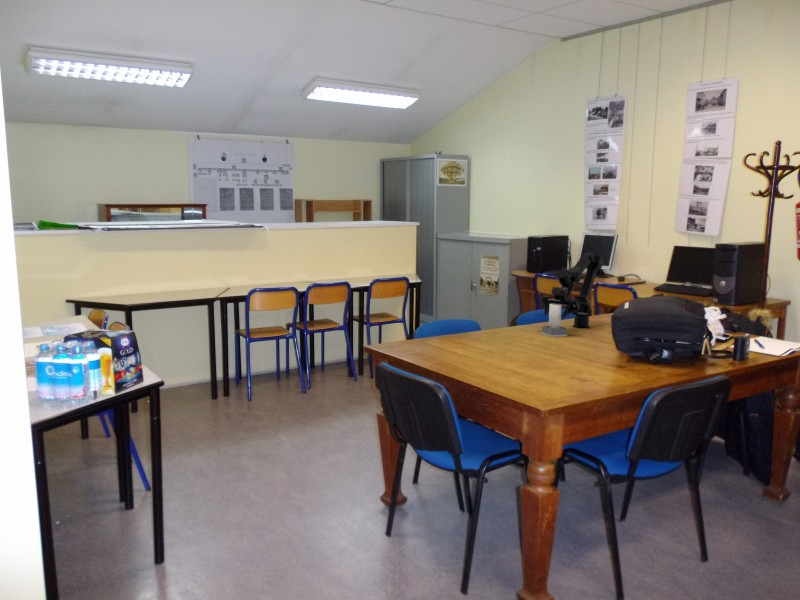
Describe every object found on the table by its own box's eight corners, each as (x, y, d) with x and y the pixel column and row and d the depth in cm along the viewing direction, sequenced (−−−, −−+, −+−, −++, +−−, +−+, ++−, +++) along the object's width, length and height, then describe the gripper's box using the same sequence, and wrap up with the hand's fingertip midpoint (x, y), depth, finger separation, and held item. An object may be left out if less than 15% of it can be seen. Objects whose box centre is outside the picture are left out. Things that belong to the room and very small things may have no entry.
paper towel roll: (558, 332, 320) (560, 303, 318) (561, 334, 314) (562, 305, 312) (547, 332, 320) (548, 303, 318) (549, 334, 314) (551, 305, 312)
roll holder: (557, 332, 323) (557, 325, 322) (567, 335, 314) (567, 328, 314) (541, 333, 320) (541, 325, 320) (550, 336, 312) (551, 329, 311)
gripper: (542, 279, 323) (530, 304, 316) (578, 282, 311) (566, 308, 304) (550, 293, 330) (538, 318, 323) (585, 297, 318) (573, 323, 311)
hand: (553, 316), depth 315 cm, fingers open, 9 cm apart
